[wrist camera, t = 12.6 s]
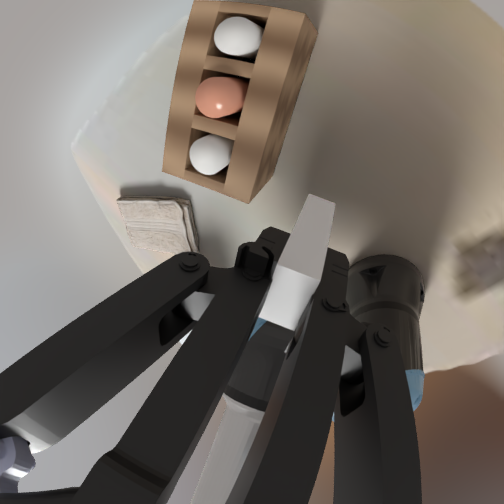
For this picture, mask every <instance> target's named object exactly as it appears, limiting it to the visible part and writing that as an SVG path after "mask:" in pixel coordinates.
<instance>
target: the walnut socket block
mask: <svg viewBox="0 0 504 504" xmlns="http://www.w3.org/2000/svg"><path fill="white" fill-rule="evenodd" d="M231 17H243V18H246V19H248V20H250V21H252V22H253V23H255V24H257V25H259V26H260V27H262V28H264V29H265V30H264V33H263V37H262V40H261V43H260V47H259V50H258V54H257V57H256V61H255V63H251V62H246V61H242V59H243V57H240V56H235V55H230V54H226V53H224V52H222V51H221V50H219V49H218V47H217V46H216V44H215V41H214V34H215V31H216V28H217V27H218V25H219V24H220V23H221V22H223V21H224V20H226V19H228V18H231ZM317 35H318V32H317V31H316V29H315V27H314V26H313V24H312V23H311V21H310V20H309V18H308V17H307V15H306V14H305V13H301V12H297V11H292V10H287V9H282V8H276V7H271V6H264V5H257V4H249V3H240V2H228V1H209V0H194V2H193V5H192V9H191V12H190V16H189V20H188V23H187V27H186V31H185V35H184V39H183V43H182V48H181V52H180V57H179V61H178V66H177V71H176V76H175V82H174V87H173V93H172V99H171V105H170V111H169V118H168V125H167V132H166V140H165V149H164V158H163V168H162V172H165V173H168V174H171V175H173V176H176V177H179V178H182V179H184V180H187V181H190V182H193V183H195V184H198V185H201V186H203V187H206V188H209V189H211V190H214V191H217V192H219V193H222V194H224V195H227V196H229V197H232V198H235V199H237V200H240V201H242V202H245V203H247V204H249V203H250V202H251V201H252V199H253V198H254V197H255V196H256V195H257V194H258V192H259V191H260V190H261V189H262V188H263V187H264V185H265V184H266V183H267V182H268V181H269V180H270V179H271V177H272V176H273V173H274V170H275V167H276V163H277V160H278V157H279V154H280V151H281V148H282V144H283V141H284V138H285V135H286V132H287V129H288V125H289V122H290V119H291V116H292V113H293V110H294V107H295V103H296V100H297V97H298V94H299V91H300V88H301V85H302V82H303V78H304V75H305V72H306V69H307V66H308V63H309V60H310V57H311V53H312V50H313V47H314V44H315V41H316V38H317ZM238 76H243V77H247V78H251V79H250V83H249V86H248V90H247V94H246V98H245V101H244V105H243V109H242V111H241V112H237V113H234V114H230V115H227V116H223V117H219V118H211V117H208V116H205V115H204V114H203V113H201V111H200V110H199V109H198V107H197V105H196V101H195V95H196V91H197V88H198V86H199V85H200V84H201V83H202V82H203V81H204V80H206V79H208V78H211V77H238ZM210 134H216V135H219V136H222V137H225V138H229V139H232V140H235V142H234V146H233V150H232V154H231V159H230V163H229V165H227V166H226V167H224V168H223V169H221V170H220V171H219V172H217V173H215V174H212V175H206V174H203V173H200V172H199V171H197V170H196V169H195V167H194V166H193V165H192V163H191V160H190V148H191V146H192V144H193V143H194V142H195V141H196V140H198V139H200V138H202V137H205V136H207V135H210Z"/></svg>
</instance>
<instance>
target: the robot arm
mask: <svg viewBox="0 0 504 504" xmlns="http://www.w3.org/2000/svg"><path fill="white" fill-rule="evenodd" d="M335 205H336V203H333V202H330V201H328V200H325V199H323V198H320V197H317V196H315V195H312V194H308V197H307V199H306V201H305V204H304V206H303V208H302V210H301V212H300V215H299V217H298V219H297V221H296V224H295V226H294V228H293V230H292V232H291V234H290V233H287V232H284V231H282V230H279V229H276V228H274V227H269V228H267V229H265V230H263V231H262V233H261V234H260V236H259V238H258V239H257V240H256V242H247V243H243V244H242V245H241V246H239V248H238V252H237V257H236V261H235V266H234V267H233V268H216V267H210V264H209V262H208V260H207V259H206V258H205V257H204V256H203V255H201V254H199V253H196V252H190V251H188V252H181V253H179V254H176V255H174V256H173V257H171V258H170V259H168V260H166V261H165V262H163V263H161V264H160V265H158V266H157V267H155V268H153V269H152V270H150V271H149V272H147V273H146V274H144V275H143V276H141V277H139V278H138V279H136V280H134V281H133V282H132V283H130V284H128V285H127V286H125V287H124V288H122V289H120V290H119V291H118V292H116V293H114V294H113V295H111V296H110V297H108V298H107V299H105V300H104V301H102V302H101V303H99V304H98V305H96V306H95V307H93V308H92V309H90V310H89V311H87V312H86V313H84V314H83V315H81V316H80V317H78V318H77V319H76V320H74V321H72V322H71V323H70V324H68V325H67V326H65V327H64V328H62V329H61V330H60V331H58V332H57V333H55V334H54V335H53V336H51V337H49V338H48V339H47V340H45V341H44V342H43V343H41V344H40V345H38V346H37V347H35V348H34V349H33V350H31V351H30V352H29V353H27V354H26V355H25V356H23V357H22V358H21V359H19V360H18V361H17V362H15V363H14V364H13V365H11V366H10V367H9V368H7V369H6V370H4V371H3V372H2V373H0V504H166V503H167V502H168V500H169V498H170V496H171V494H172V492H173V490H174V488H175V486H176V484H177V482H178V480H179V478H180V476H181V474H182V472H183V471H184V469H185V467H186V465H187V463H188V461H189V459H190V457H191V455H192V454H193V452H194V450H195V448H196V446H197V444H198V442H199V440H200V438H201V436H202V434H203V433H204V431H205V429H206V426H207V425H208V423H209V421H210V419H211V417H212V415H213V413H214V411H215V409H216V407H217V405H218V403H219V401H220V399H221V397H222V395H223V397H224V399H225V401H226V403H227V406H226V409H225V412H224V415H223V417H222V420H221V423H220V426H219V429H218V431H217V434H216V437H215V440H214V443H213V445H212V448H211V451H210V453H209V456H208V459H207V461H206V464H205V467H204V469H203V472H202V474H201V477H200V480H199V482H198V485H197V488H196V490H195V493H194V495H193V498H192V500H191V503H190V504H308V502H309V499H310V496H311V493H312V490H313V487H314V484H315V481H316V478H317V474H318V471H319V468H320V464H321V460H322V457H323V453H324V450H325V446H326V442H327V438H328V434H329V430H330V426H331V422H332V421H334V438H335V467H334V468H335V469H334V499H333V500H334V501H333V504H422V497H421V496H422V493H421V472H420V459H419V450H418V441H417V433H416V426H415V419H414V413H413V411H414V410H415V409H416V408H417V407H418V405H419V404H420V402H421V399H422V394H423V382H424V376H425V375H424V372H423V358H422V345H421V335H420V327H419V318H420V314H421V311H422V306H423V302H424V297H425V290H424V284H423V280H422V276H421V274H420V272H419V271H418V269H417V268H416V267H415V266H414V265H413V264H412V263H410V262H409V261H407V260H405V259H403V258H401V257H397V256H392V255H377V256H372V257H368V258H366V259H363V260H361V261H359V262H357V263H356V264H355V265H353V266H352V267H351V268H350V269H349V261H348V259H347V257H346V254H343V253H341V252H338V251H336V250H333V249H331V248H328V243H329V238H330V233H331V227H332V222H333V216H334V211H335ZM191 330H192V331H191ZM190 331H191V332H190ZM189 332H190V334H189V335H188V337H187V338H186V340H185V341H184V343H183V344H182V346H181V348H180V349H179V351H178V352H177V354H176V355H175V357H174V358H173V360H172V361H171V363H170V364H169V366H168V367H167V369H166V370H165V372H164V373H163V375H162V376H161V378H160V379H159V381H158V382H157V384H156V386H155V387H154V389H153V390H152V392H151V393H150V395H149V396H148V398H147V399H146V401H145V402H144V404H143V406H142V407H141V409H140V410H139V412H138V413H137V415H136V416H135V418H134V419H133V421H132V422H131V424H130V426H129V427H128V429H127V430H126V432H125V433H124V435H123V436H122V438H121V440H120V441H119V442H118V444H117V445H116V447H114V448H113V450H111V451H109V452H107V453H105V454H104V455H103V456H102V457H101V458H100V459H99V460H98V461H97V462H96V464H95V465H94V466H93V468H92V469H91V471H90V472H89V474H88V475H87V477H86V479H85V480H84V482H83V483H82V485H81V486H80V487H70V488H64V489H57V490H49V491H39V492H26V493H18V487H17V486H18V482H19V480H20V478H21V477H23V476H25V475H26V474H28V473H29V472H30V470H32V469H33V468H34V467H35V464H36V463H35V459H34V457H33V456H32V454H33V453H37V452H40V451H43V450H45V449H47V448H49V447H51V446H53V445H54V444H56V443H57V442H59V441H60V440H61V439H63V438H64V437H65V436H67V435H68V434H69V433H70V432H71V431H73V430H74V429H75V428H76V427H78V426H79V425H80V424H81V423H83V422H84V421H85V420H86V419H88V418H89V417H90V416H91V415H92V414H94V413H95V412H96V411H97V410H98V409H100V408H101V407H102V406H103V405H104V404H105V403H107V402H108V401H109V400H110V399H112V398H113V397H114V396H115V395H116V394H118V393H119V392H120V391H121V390H122V389H123V388H125V387H126V386H127V385H128V384H129V383H131V382H132V381H133V380H134V379H135V378H136V377H138V376H139V375H140V374H141V373H142V372H144V371H145V370H146V369H147V368H148V367H149V366H151V365H152V364H153V363H154V362H155V361H156V360H158V359H159V358H160V357H161V356H162V355H163V354H165V353H166V352H167V351H168V350H169V349H170V348H172V347H173V346H174V345H175V344H176V343H177V342H178V341H180V340H181V339H182V338H183V337H184V336H185V335H186V334H188V333H189Z"/></svg>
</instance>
